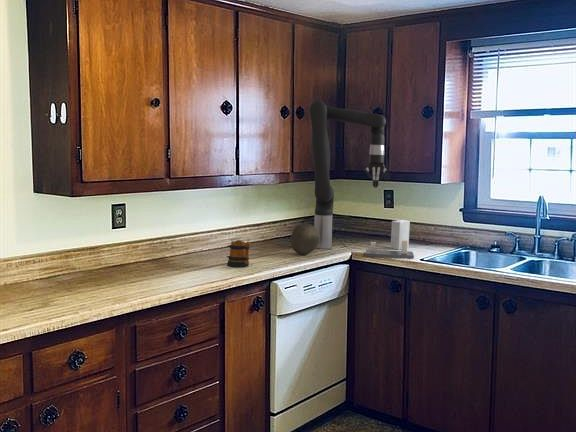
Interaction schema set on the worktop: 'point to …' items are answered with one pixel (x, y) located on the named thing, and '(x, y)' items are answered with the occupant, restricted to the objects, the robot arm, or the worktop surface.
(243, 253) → the mug
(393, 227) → the skincare box
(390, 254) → the console
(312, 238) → the cantaloupe
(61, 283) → the worktop surface
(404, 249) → the fader
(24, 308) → the worktop surface
